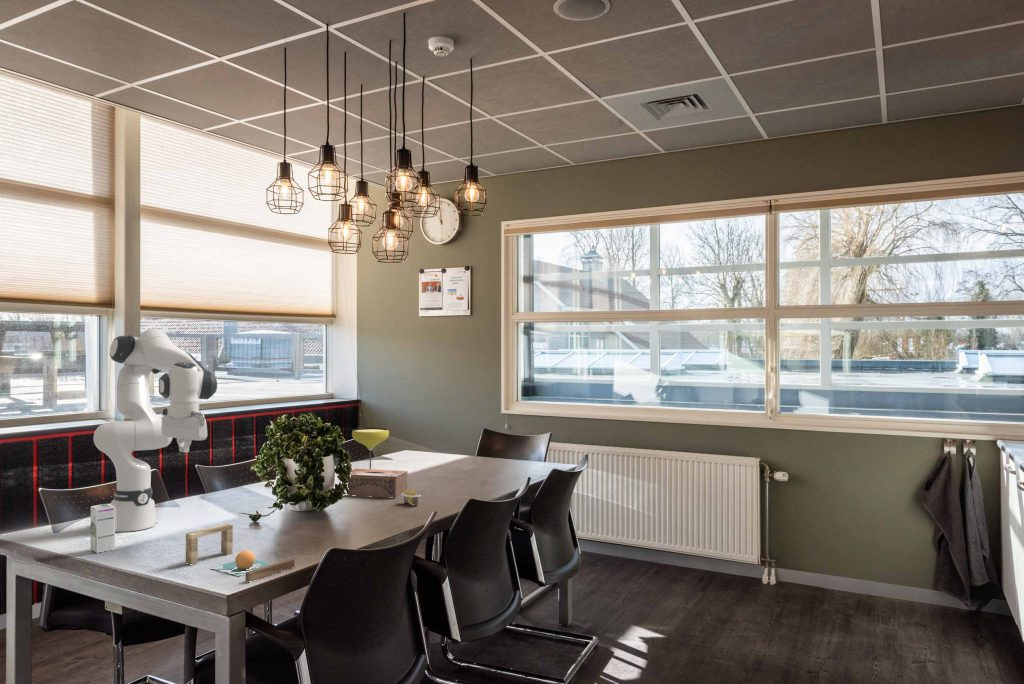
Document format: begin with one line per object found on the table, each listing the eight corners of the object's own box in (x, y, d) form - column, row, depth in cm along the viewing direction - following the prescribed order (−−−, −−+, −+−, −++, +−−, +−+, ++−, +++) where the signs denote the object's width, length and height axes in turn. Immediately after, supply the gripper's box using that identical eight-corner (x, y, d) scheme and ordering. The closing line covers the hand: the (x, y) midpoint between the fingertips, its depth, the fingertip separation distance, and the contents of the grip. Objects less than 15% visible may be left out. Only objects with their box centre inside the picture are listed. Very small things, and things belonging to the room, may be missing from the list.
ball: (230, 568, 210) (232, 550, 210) (245, 563, 215) (247, 546, 215) (242, 574, 208) (244, 556, 207) (257, 569, 212) (259, 551, 212)
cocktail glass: (393, 481, 350) (394, 430, 350) (358, 484, 341) (358, 432, 341) (381, 475, 366) (381, 427, 366) (347, 478, 357) (347, 428, 357)
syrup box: (115, 550, 230) (116, 505, 230) (95, 553, 226) (96, 508, 226) (109, 546, 234) (109, 502, 234) (89, 550, 229) (89, 505, 229)
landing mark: (210, 569, 211) (210, 568, 211) (246, 558, 222) (246, 557, 222) (238, 576, 204) (238, 576, 204) (274, 565, 215) (274, 564, 215)
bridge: (185, 563, 216) (185, 533, 216) (226, 552, 229) (226, 523, 229) (191, 565, 215) (191, 535, 215) (232, 553, 227) (232, 524, 227)
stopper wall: (245, 581, 200) (245, 572, 200) (289, 566, 214) (290, 558, 214) (250, 582, 199) (250, 573, 199) (294, 567, 213) (294, 559, 213)
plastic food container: (415, 511, 288) (415, 495, 288) (384, 505, 298) (384, 490, 298) (434, 506, 298) (435, 490, 298) (404, 500, 308) (404, 485, 308)
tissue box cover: (341, 496, 315) (341, 474, 315) (355, 490, 330) (355, 468, 330) (395, 499, 310) (395, 476, 310) (407, 492, 324) (407, 471, 324)
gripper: (212, 411, 234) (212, 453, 234) (175, 408, 245) (174, 448, 245) (195, 413, 229) (194, 455, 229) (157, 409, 240) (157, 450, 239)
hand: (184, 451), depth 237 cm, fingers closed
